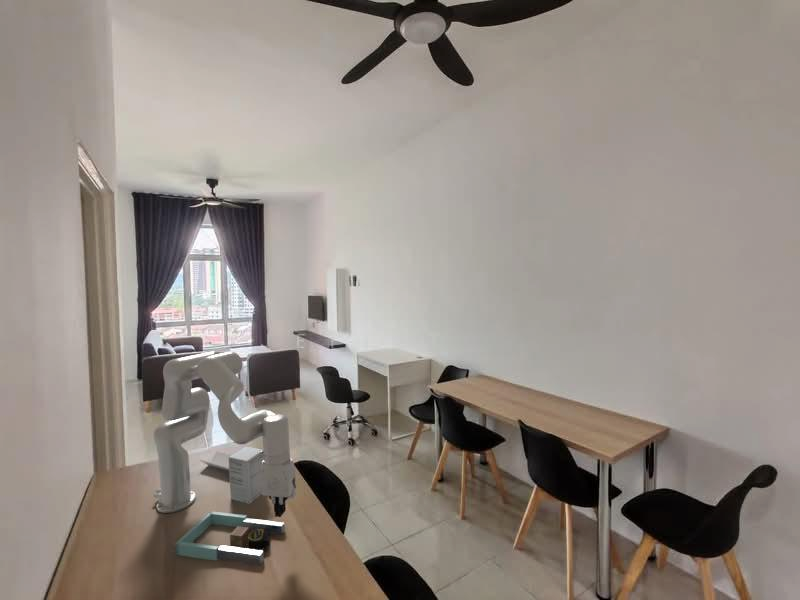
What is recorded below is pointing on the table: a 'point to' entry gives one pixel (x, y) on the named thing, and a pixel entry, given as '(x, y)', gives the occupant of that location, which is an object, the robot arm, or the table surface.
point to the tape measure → (258, 539)
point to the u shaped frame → (201, 550)
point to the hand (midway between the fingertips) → (280, 514)
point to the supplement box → (245, 474)
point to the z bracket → (219, 461)
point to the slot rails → (250, 554)
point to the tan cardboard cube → (239, 537)
